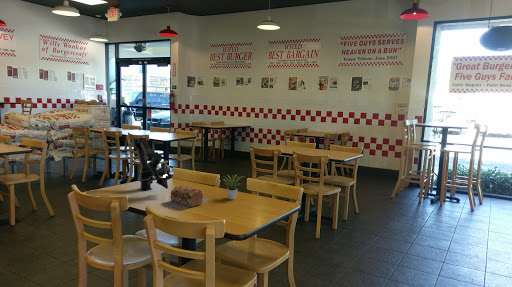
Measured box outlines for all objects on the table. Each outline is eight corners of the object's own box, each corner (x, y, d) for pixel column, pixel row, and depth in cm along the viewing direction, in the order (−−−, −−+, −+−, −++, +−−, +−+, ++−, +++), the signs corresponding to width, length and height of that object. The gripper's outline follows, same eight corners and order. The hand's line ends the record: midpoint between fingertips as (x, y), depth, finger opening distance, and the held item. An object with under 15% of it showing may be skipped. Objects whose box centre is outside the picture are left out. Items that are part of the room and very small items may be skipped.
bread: (203, 204, 221) (203, 188, 220) (189, 208, 213) (190, 191, 212) (183, 198, 233) (183, 183, 231) (169, 201, 224) (169, 185, 223)
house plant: (241, 194, 247) (242, 171, 245) (247, 200, 234) (247, 175, 232) (220, 195, 243) (221, 171, 241) (225, 201, 230) (226, 176, 228)
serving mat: (160, 204, 220) (160, 203, 220) (188, 196, 240) (188, 195, 240) (182, 210, 210) (182, 209, 210) (209, 201, 230) (209, 200, 230)
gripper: (150, 163, 226) (162, 183, 221) (172, 159, 241) (184, 178, 237) (141, 173, 231) (153, 193, 227) (163, 169, 247) (175, 188, 242)
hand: (167, 188), depth 233 cm, fingers closed
